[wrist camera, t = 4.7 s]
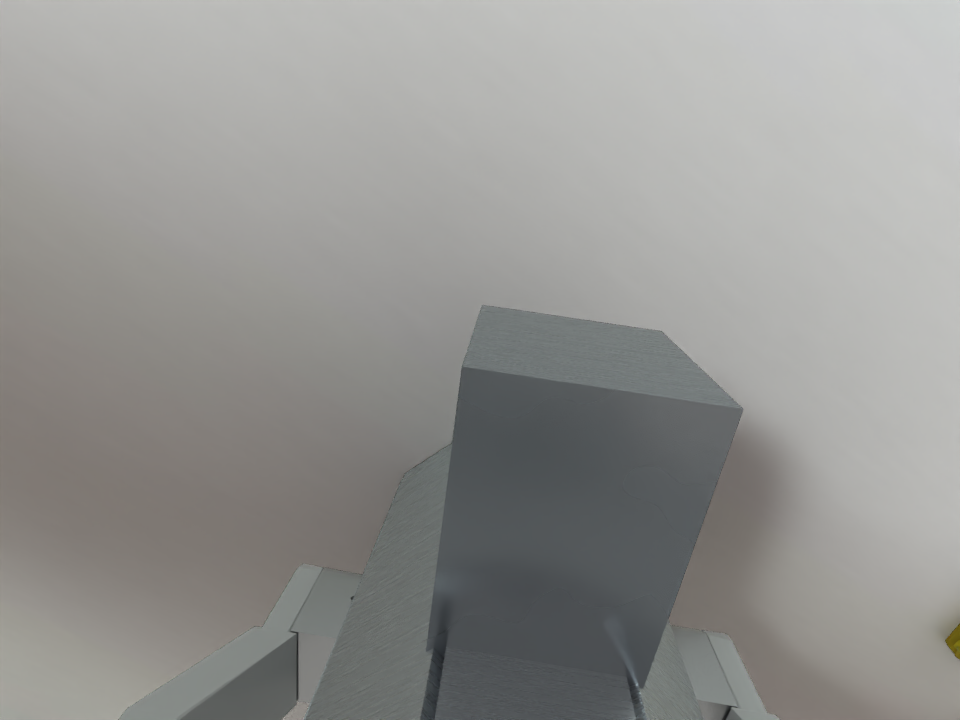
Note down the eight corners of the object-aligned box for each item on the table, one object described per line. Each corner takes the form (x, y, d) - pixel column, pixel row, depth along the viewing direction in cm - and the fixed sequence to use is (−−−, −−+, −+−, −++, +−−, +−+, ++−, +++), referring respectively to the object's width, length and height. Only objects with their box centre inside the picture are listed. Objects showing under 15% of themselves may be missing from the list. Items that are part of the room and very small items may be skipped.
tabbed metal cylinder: (420, 262, 10) (205, 412, 3) (692, 302, 10) (1099, 551, 3) (391, 599, 14) (252, 1041, 7) (596, 633, 14) (683, 1124, 6)
